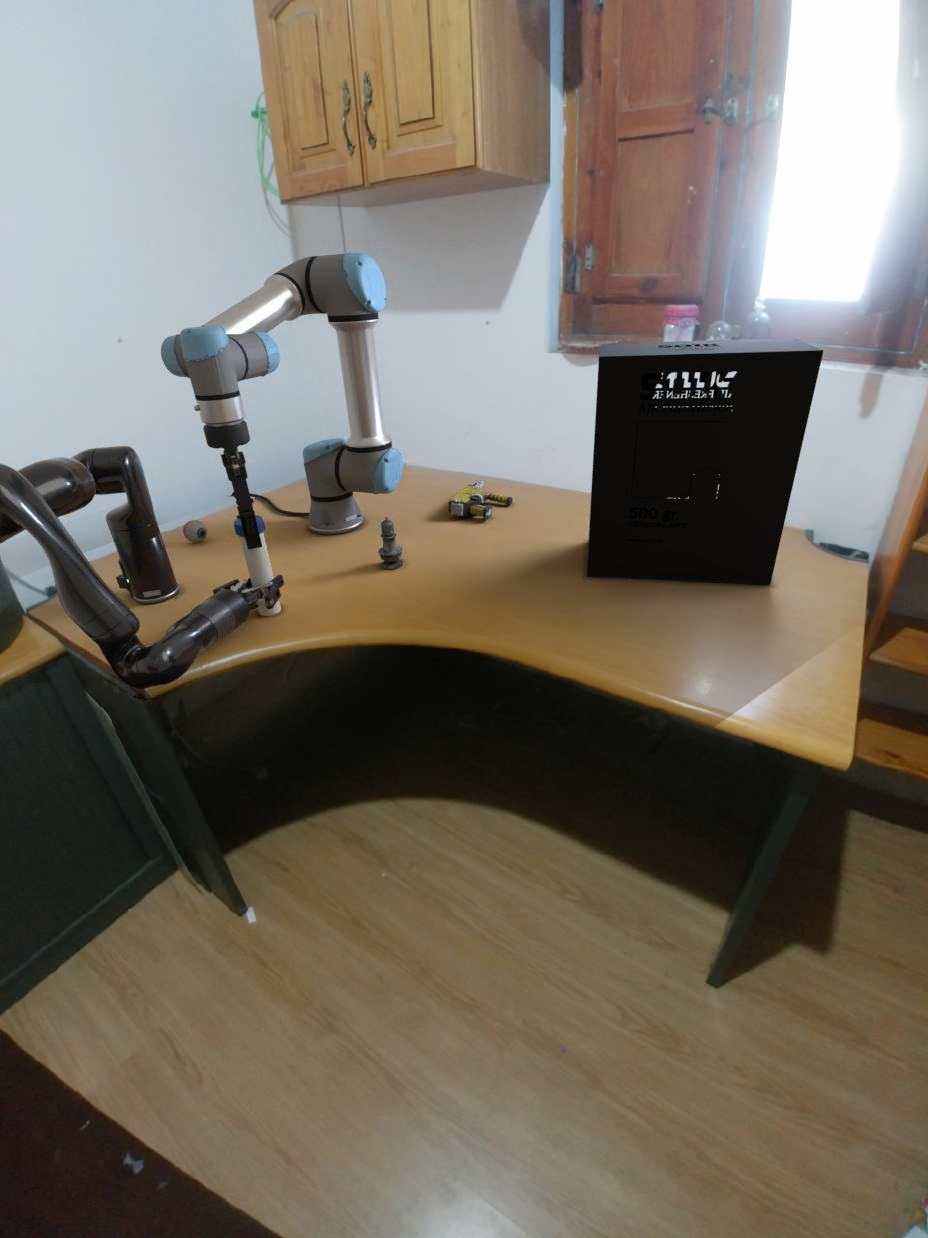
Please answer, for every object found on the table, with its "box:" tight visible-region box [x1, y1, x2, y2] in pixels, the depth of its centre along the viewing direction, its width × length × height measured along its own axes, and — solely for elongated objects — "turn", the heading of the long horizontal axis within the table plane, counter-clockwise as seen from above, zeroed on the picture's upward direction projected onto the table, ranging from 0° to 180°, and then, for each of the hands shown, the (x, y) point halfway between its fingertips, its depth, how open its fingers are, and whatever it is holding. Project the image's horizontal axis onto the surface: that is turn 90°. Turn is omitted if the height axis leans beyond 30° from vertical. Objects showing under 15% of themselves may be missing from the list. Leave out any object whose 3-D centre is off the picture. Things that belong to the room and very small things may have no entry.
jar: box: [239, 531, 282, 617], centre depth 122 cm, size 4×4×20 cm
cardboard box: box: [586, 337, 824, 586], centre depth 127 cm, size 38×20×45 cm, turn 78°
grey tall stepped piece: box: [377, 516, 404, 570], centre depth 141 cm, size 6×6×12 cm
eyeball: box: [182, 519, 208, 544], centre depth 162 cm, size 6×6×6 cm
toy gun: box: [447, 479, 514, 521], centre depth 175 cm, size 5×24×15 cm
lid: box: [233, 514, 266, 537], centre depth 118 cm, size 6×6×2 cm
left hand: (270, 577), depth 126 cm, fingers closed on jar, 4 cm apart
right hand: (253, 541), depth 120 cm, fingers open, 6 cm apart
